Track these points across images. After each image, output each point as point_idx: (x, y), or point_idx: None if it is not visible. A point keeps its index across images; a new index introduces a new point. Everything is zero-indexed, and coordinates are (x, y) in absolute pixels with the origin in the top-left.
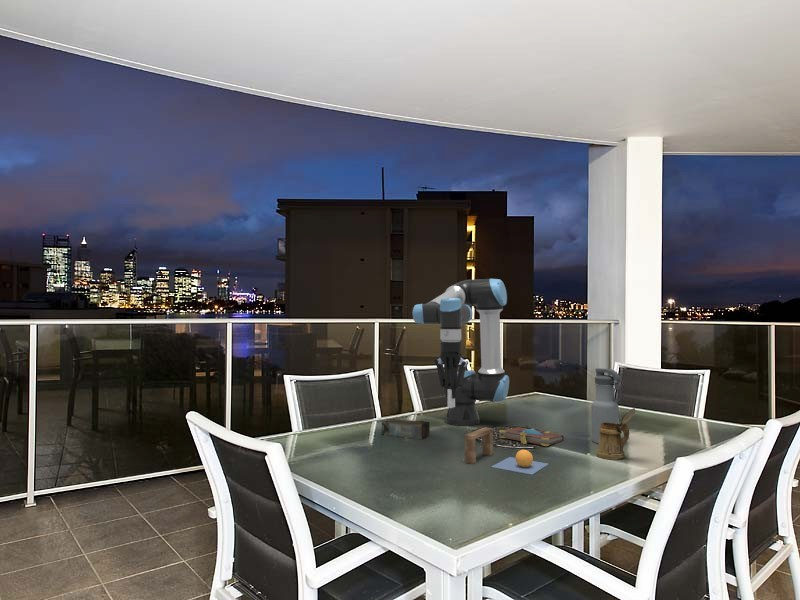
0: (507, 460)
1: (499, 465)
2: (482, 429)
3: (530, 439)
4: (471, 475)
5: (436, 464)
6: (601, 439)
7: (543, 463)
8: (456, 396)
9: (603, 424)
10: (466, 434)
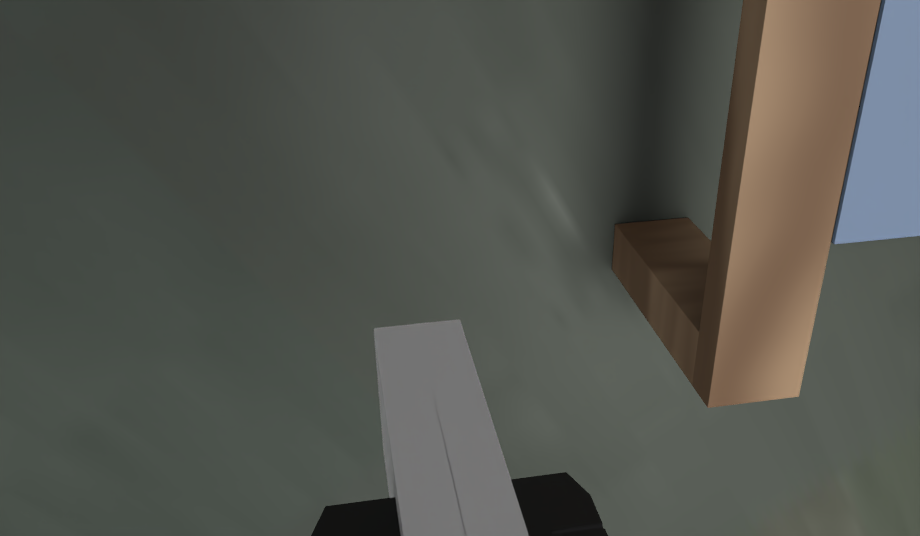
0: (917, 4)
1: (885, 178)
2: (796, 57)
3: None
4: (767, 452)
5: None
6: None
7: None
8: (592, 518)
9: None
10: (714, 380)
